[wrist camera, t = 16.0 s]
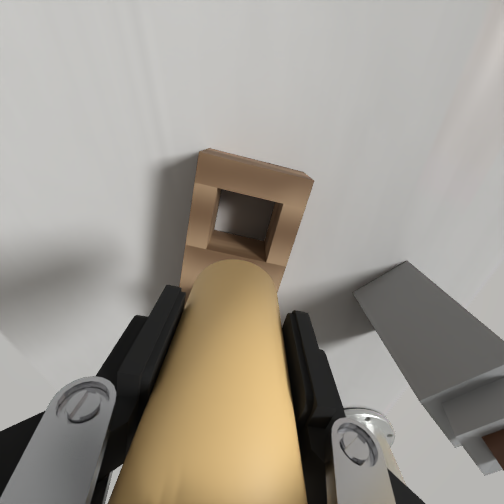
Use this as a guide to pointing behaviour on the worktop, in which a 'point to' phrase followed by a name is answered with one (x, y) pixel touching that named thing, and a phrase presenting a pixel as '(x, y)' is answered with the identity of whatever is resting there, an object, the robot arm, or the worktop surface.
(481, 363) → the perfume bottle
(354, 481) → the robot arm
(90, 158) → the worktop surface
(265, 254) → the socket block
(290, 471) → the peg
